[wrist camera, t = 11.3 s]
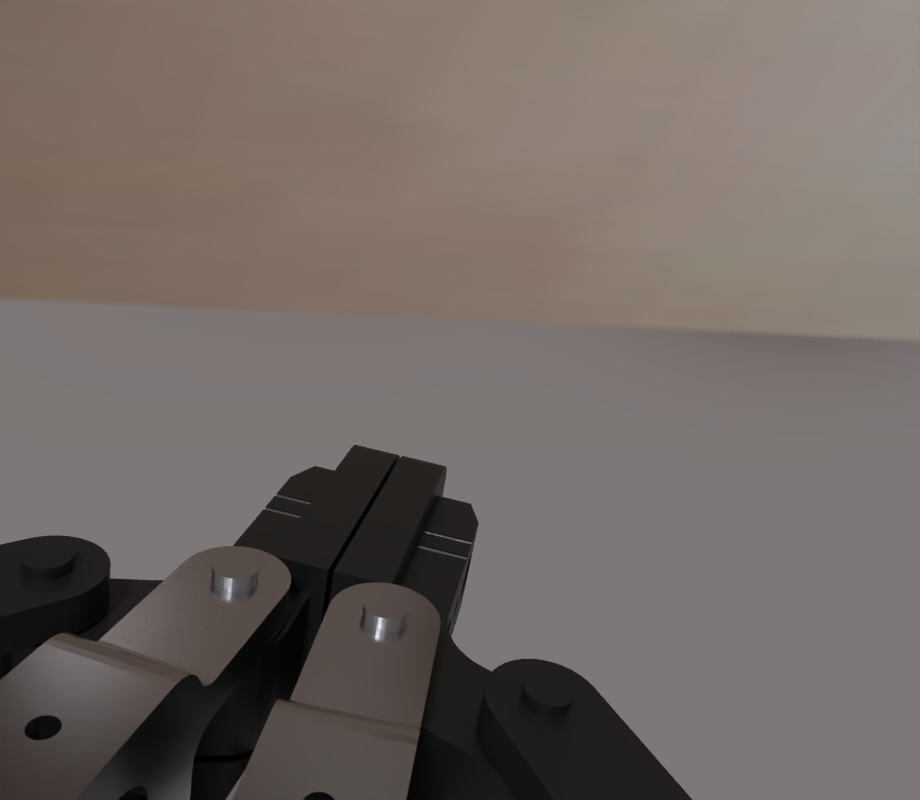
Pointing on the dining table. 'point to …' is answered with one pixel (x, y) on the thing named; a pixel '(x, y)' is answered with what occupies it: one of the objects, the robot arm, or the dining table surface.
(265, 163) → the dining table surface
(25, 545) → the robot arm
